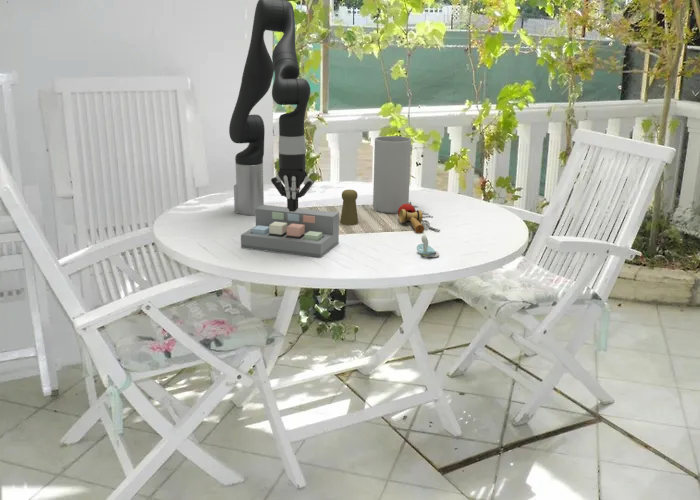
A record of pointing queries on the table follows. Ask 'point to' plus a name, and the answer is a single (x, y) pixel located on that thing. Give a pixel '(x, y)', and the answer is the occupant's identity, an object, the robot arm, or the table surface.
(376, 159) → the cylinder vase
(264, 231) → the key blue
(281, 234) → the key cream
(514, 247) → the table surface
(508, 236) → the table surface
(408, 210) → the kendama
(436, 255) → the pacifier
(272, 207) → the keypad
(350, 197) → the olive ball-ended cylinder
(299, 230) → the key coral
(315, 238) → the key sage
